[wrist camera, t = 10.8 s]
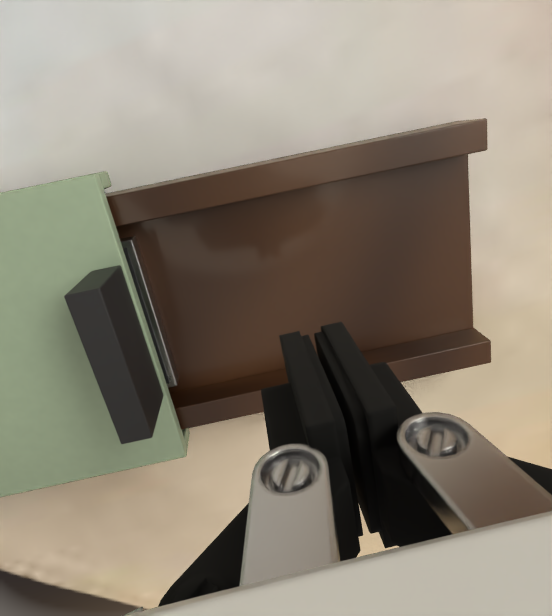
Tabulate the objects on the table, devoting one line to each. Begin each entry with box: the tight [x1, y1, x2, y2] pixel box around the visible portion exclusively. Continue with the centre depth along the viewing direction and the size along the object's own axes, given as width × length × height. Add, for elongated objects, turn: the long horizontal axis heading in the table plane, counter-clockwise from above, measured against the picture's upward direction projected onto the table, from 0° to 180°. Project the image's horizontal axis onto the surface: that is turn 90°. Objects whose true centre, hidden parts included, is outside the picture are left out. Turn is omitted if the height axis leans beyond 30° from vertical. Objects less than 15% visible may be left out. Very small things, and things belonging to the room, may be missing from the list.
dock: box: [105, 119, 491, 430], centre depth 20 cm, size 30×11×2 cm, turn 101°
